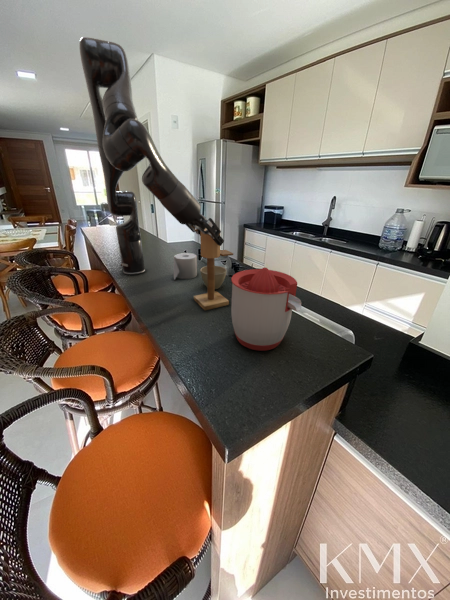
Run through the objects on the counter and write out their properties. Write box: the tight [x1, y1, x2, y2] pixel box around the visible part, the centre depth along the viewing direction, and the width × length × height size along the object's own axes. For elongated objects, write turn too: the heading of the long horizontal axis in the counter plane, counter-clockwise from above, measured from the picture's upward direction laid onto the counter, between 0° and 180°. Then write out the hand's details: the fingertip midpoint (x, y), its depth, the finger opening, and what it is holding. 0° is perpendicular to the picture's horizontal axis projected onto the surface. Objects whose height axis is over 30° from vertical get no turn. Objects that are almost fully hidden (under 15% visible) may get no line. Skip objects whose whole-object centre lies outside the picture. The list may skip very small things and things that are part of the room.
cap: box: [199, 228, 234, 259], centre depth 77 cm, size 10×6×8 cm, turn 119°
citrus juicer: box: [230, 267, 302, 352], centre depth 62 cm, size 16×17×20 cm
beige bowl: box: [200, 265, 228, 290], centre depth 96 cm, size 10×10×7 cm
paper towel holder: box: [193, 258, 230, 311], centre depth 82 cm, size 9×9×16 cm
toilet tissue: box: [173, 252, 198, 281], centre depth 105 cm, size 9×13×9 cm
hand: (214, 241), depth 77 cm, fingers closed on cap, 6 cm apart
